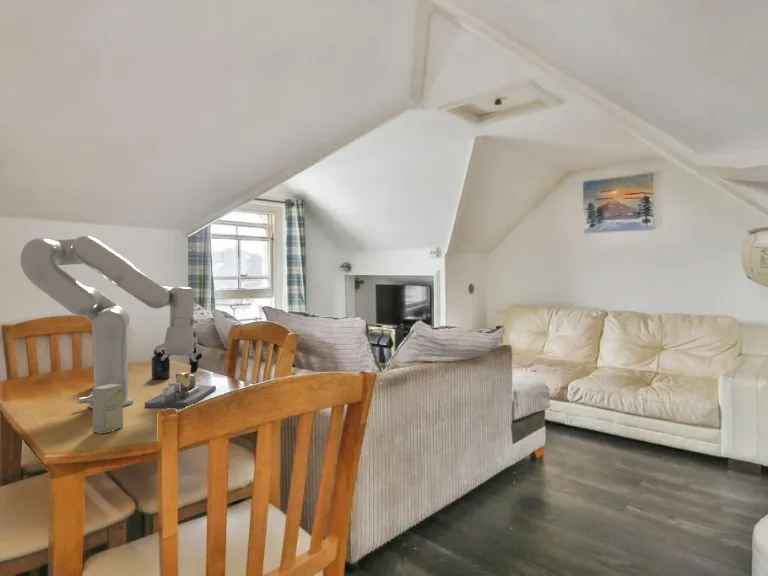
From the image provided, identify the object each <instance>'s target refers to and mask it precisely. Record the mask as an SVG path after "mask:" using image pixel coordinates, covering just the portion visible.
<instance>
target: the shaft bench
mask: <svg viewBox="0 0 768 576" xmlns="http://www.w3.org/2000/svg"><path fill="white" fill-rule="evenodd" d="M196 379H197V378H196V374H195V373H190V391H188V392H181V383H176V382H169V383H168V386H167V387H166V388H163V389H162V390H163V393H161V394H159V395H157V396H154V397H153V398H151V399H149V400H147V401H145V402H144V408H174V407H175V409H176V408H179V409H180V408H184V407H186V406H189V405H191V404H193V403H194V404H196V403H197V402H199V401H201V400H202V399H204V398H206V397H207V396H208V395H210V394H212V393H213V392H215V391H216V390H217V388H216V387H217V385H196V383H197V382H196ZM214 390H215V391H214ZM211 392H212V393H211ZM194 404H193V405H194ZM191 406H192V405H191Z"/></svg>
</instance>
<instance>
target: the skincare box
mask: <svg viewBox="0 0 768 576" xmlns="http://www.w3.org/2000/svg"><path fill="white" fill-rule="evenodd" d="M92 392H93V408H92V433H93V432H98V433H97V434H101V433H106V434H108V433H107V432H109V431H112V430H115V429H118V428H120V429H122V428H121V427H123V428H124V406H123V385H122V384H108V385H104V386H100V387H96V388H94V387H92ZM118 430H119V429H118ZM115 431H116V430H115ZM112 432H113V431H112ZM109 433H110V432H109Z"/></svg>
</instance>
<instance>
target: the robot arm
mask: <svg viewBox="0 0 768 576" xmlns="http://www.w3.org/2000/svg"><path fill="white" fill-rule="evenodd" d="M21 250H22V251H21V254H20V266H21V270H22V271H23V274H24V275H25V276H26V278H27V279H28V280H29V281H30V282H31V284H33V285H35V287H36V288H38V289H40V291H42V292H43V293H44V294H46V295H47V296H49V298H51V299H52V300H53V301H55V302H56V303H58V304H59V305H60V306H62V307H63V308H64V309H66V310H67V311H68V312H69V313H70V314H72V315H74V316H80V317H81V316H82V317H84V318H85V319H87V320H88V321H89V322H90V323H91V325H92V326H91V331H92V342H93V388H96V387H100V386H104V385H108V384H122V385H123V407H125V406H128V405H130V404H132V403H133V402H134V397H132V396H129V395H128V394H129V393H128V392H129V391H128V390H129V388H128V387H129V385H128V377H129V376H128V374H129V373H128V340H127V339H128V336H127V334H128V333H127V329H128V327H129V325H130V315H129V313H128V312H127V311H126V310H125V309H124V308H123V307H122V306H120V305H119V304H118V303H116V302H114V301H113V300H112V299H110V298H109V297H108V296H107V295H105V294H104V293H103V292H101V291H100V290H98V289H97V288H95V287H92V286H89V285H84V284H82V283H81V282H79V281H78V280H77V279H75V278H74V277H72V276H71V275H70V274H69V273H68V272H67V271H65V270H63V269H62V268H60V266H69V265H70V266H71V265H82V264H84V265H85V266H87V267H88V268H91V269H92V270H93V271H94V272H96V273H98V274H99V275H101V276H102V277H103V278H105V279H106V280H108V281H109V282H111V283H112V284H114V285H115V286H117V287H119V288H121V289H122V290H124V291H125V292H127V293H128V294H129V295H131V296H132V297H134V298H135V299H137V300H139V302H142V303H143V304H144V305H146V306H147V307H149V308H151V309H155V310H159V309H162V308H165V307H169V326H167V329H166V333H165V338H164V343H161V344H159V345H157V346H155V347H154V350H155V349H156V352H157V353H158V356H159V357H160V358H161V360H162V369H163V372H167V371H169V362H170V360H169V359H168V358H171V356H175V357H177V356H179V357H189V358H190V359H191V360H192V361H191V362H190V363H191V364H190V374H195V373H197V371H198V369H199V361H200V360H201V358H203V357H204V354H205V353H206V351H207V349H206V347H204V346H202V345H200V344H198V342H199V341H198V333H197V332H198V331H197V327H196V326H194V325H196V324H197V325H198V320H197V319H195V318H194V314H195V313H194V310H195V309H194V308H195V290H194V288H192V287H189V286H174V287H172V286H163V285H161V284H159V283H157V282H156V281H155V280H152V279H151V278H150V277H148V276H147V275H145V273H143V272H141V271H140V270H139V269H138V268H136V266H134V264H133V263H132V262H130V261H129V259H128V260H127V258H125V257H123V256H122V255H120V254H119V253H117V252H116V251H114V250H113V249H111V248H110V247H109V246H107V245H106V244H104V243H102V242H101V241H100V240H99V239H98V238H95V237H93V236H92V235H91V236H89V235H82V236H79V237H77V238H73V239H70V238H68V239H50V238H45V237H39V238H38V237H37V238H33V239H30V241H27V242H26V244H25V245H24V246H23V248H22V249H21ZM161 349H164V353H165V354H164V353H163V352H162V350H161ZM198 351H199V353H198ZM77 404H78V405H81V404H83V405H84V404H87V405H88V407H89V408H90V409H93V391H91V392H90V394H89V395H88V396H82V397H79V398H77Z"/></svg>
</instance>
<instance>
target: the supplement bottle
mask: <svg viewBox="0 0 768 576" xmlns="http://www.w3.org/2000/svg"><path fill="white" fill-rule="evenodd" d="M161 350H162V352H163V353H164V348H162V349H161ZM164 354H165V353H164ZM153 355H154V356H152V357H151V363H150V364H151V379H152V380H154V379H161V380H167V379H169V378H170V376H171V374H170V373H171V366H170V364H171V363H170V362H169V371H167V372H163V369H162V360H161V358H160V357H159V356H158V353H157V352H156V349H155V348H154V349H153ZM170 358H171V357H169V358H168V359H169V360H170Z"/></svg>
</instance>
